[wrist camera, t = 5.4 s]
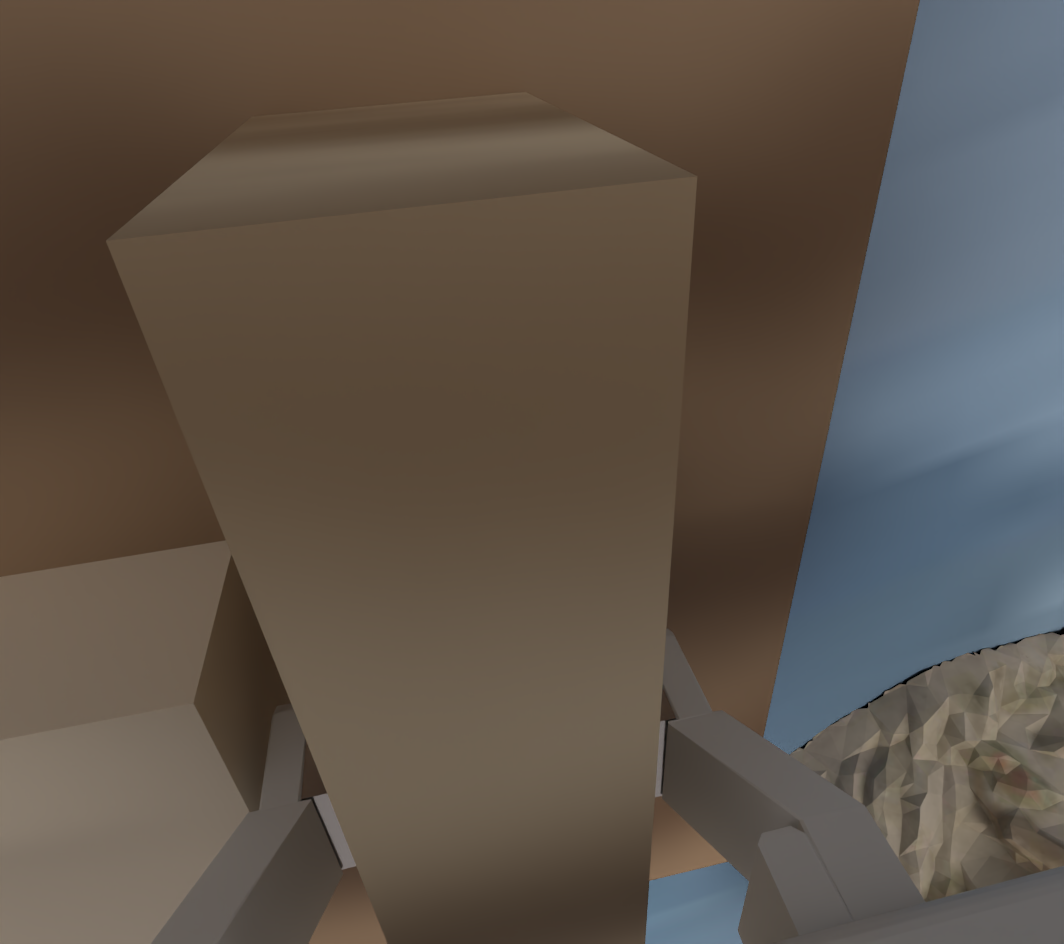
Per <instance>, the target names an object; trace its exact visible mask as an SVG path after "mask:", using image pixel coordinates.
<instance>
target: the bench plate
mask: <svg viewBox="0 0 1064 944" xmlns="http://www.w3.org/2000/svg"><path fill="white" fill-rule="evenodd" d="M919 2H920V0H0V577H3V576H9V575H15V574H22V573H28V572H34V571H40V570H46V569H52V568H59V567H65V566H71V565H77V564H83V563H89V562H96V561H102V560H108V559H114V558H120V557H126V556H133V555H139V554H145V553H151V552H157V551H163V550H169V549H176V548H182V547H188V546H194V545H200V544H206V543H213V542H219V541H225V537H224V535H223V532H222V530H221V527H220V525H219V522H218V520H217V517H216V515H215V512H214V510H213V507H212V505H211V502H210V500H209V497H208V495H207V492H206V490H205V487H204V485H203V482H202V480H201V477H200V475H199V472H198V470H197V467H196V465H195V462H194V460H193V457H192V455H191V452H190V450H189V447H188V445H187V442H186V440H185V437H184V435H183V432H182V430H181V427H180V425H179V422H178V420H177V417H176V415H175V412H174V410H173V407H172V405H171V402H170V400H169V397H168V395H167V392H166V390H165V387H164V385H163V382H162V380H161V377H160V375H159V372H158V370H157V367H156V365H155V362H154V360H153V357H152V355H151V352H150V350H149V347H148V345H147V342H146V340H145V337H144V335H143V332H142V330H141V327H140V325H139V322H138V320H137V317H136V315H135V312H134V310H133V307H132V305H131V302H130V300H129V297H128V295H127V292H126V290H125V287H124V285H123V283H122V280H121V278H120V275H119V273H118V270H117V268H116V265H115V263H114V260H113V258H112V255H111V253H110V250H109V248H108V245H107V243H106V240H107V239H108V238H110V237H111V236H112V235H113V234H114V233H116V232H117V231H118V230H119V229H120V228H121V227H123V226H124V225H125V224H126V223H127V222H128V221H130V220H131V219H132V218H133V217H134V216H136V215H137V214H138V213H139V212H140V211H141V210H143V209H144V208H145V207H146V206H147V205H148V204H150V203H151V202H152V201H153V200H154V199H155V198H157V197H158V196H159V195H160V194H161V193H163V192H164V191H165V190H166V189H167V188H168V187H170V186H171V185H172V184H173V183H174V182H175V181H177V180H178V179H179V178H180V177H181V176H183V175H184V174H185V173H186V172H187V171H188V170H190V169H191V168H192V167H193V166H194V165H195V164H197V163H198V162H199V161H200V160H201V159H202V158H204V157H205V156H206V155H207V154H208V153H210V152H211V151H212V150H213V149H214V148H215V147H217V146H218V145H219V144H220V143H221V142H222V141H224V140H225V139H226V138H227V137H228V136H230V135H231V134H232V133H233V132H234V131H235V130H237V129H238V128H239V127H240V126H241V125H242V124H244V123H245V122H246V121H247V120H248V119H249V118H251V117H253V116H264V115H275V114H286V113H297V112H308V111H319V110H331V109H342V108H353V107H364V106H375V105H386V104H397V103H408V102H419V101H430V100H442V99H453V98H464V97H475V96H486V95H497V94H508V93H519V92H527V93H529V94H531V95H533V96H535V97H537V98H539V99H541V100H543V101H545V102H547V103H549V104H551V105H553V106H555V107H557V108H559V109H561V110H563V111H566V112H568V113H570V114H572V115H574V116H576V117H578V118H580V119H582V120H584V121H586V122H588V123H590V124H592V125H594V126H596V127H598V128H600V129H602V130H604V131H606V132H608V133H610V134H612V135H614V136H616V137H618V138H620V139H623V140H625V141H627V142H629V143H631V144H633V145H635V146H637V147H639V148H641V149H643V150H645V151H647V152H649V153H651V154H653V155H655V156H657V157H659V158H661V159H663V160H665V161H667V162H669V163H671V164H673V165H675V166H677V167H680V168H682V169H684V170H686V171H688V172H690V173H692V174H694V175H696V176H697V188H696V203H695V218H694V232H693V247H692V262H691V276H690V291H689V305H688V320H687V335H686V349H685V364H684V379H683V393H682V408H681V423H680V437H679V452H678V466H677V481H676V496H675V510H674V525H673V540H672V554H671V569H670V584H669V598H668V613H667V627H666V629H669V630H670V631H671V632H673V634H674V636H675V638H676V640H677V642H678V644H679V646H680V648H681V650H682V652H683V654H684V656H685V658H686V660H687V662H688V663H689V665H690V667H691V669H692V671H693V673H694V675H695V677H696V679H697V681H698V683H699V685H700V687H701V689H702V691H703V693H704V695H705V697H706V699H707V701H708V703H709V705H710V707H711V709H712V711H719V710H723V711H724V712H726V713H727V714H729V715H730V716H732V717H733V718H735V719H736V720H738V721H739V722H741V723H742V724H744V725H745V726H747V727H748V728H750V729H751V730H753V731H754V732H756V733H757V734H759V735H760V736H762V737H763V735H764V731H765V726H766V721H767V717H768V712H769V707H770V703H771V698H772V693H773V688H774V684H775V679H776V674H777V670H778V665H779V660H780V655H781V651H782V646H783V641H784V637H785V632H786V627H787V623H788V618H789V613H790V608H791V604H792V599H793V594H794V590H795V585H796V580H797V575H798V571H799V566H800V561H801V557H802V552H803V547H804V543H805V538H806V533H807V528H808V524H809V519H810V514H811V510H812V505H813V500H814V496H815V491H816V486H817V481H818V477H819V472H820V467H821V463H822V458H823V453H824V448H825V444H826V439H827V434H828V430H829V425H830V420H831V416H832V411H833V406H834V401H835V397H836V392H837V387H838V383H839V378H840V373H841V368H842V364H843V359H844V354H845V350H846V345H847V340H848V336H849V331H850V326H851V321H852V317H853V312H854V307H855V303H856V298H857V293H858V289H859V284H860V279H861V274H862V270H863V265H864V260H865V256H866V251H867V246H868V241H869V237H870V232H871V227H872V223H873V218H874V213H875V209H876V204H877V199H878V194H879V190H880V185H881V180H882V176H883V171H884V166H885V161H886V157H887V152H888V147H889V143H890V138H891V133H892V129H893V124H894V119H895V114H896V110H897V105H898V100H899V96H900V91H901V86H902V82H903V77H904V72H905V67H906V63H907V58H908V53H909V49H910V44H911V39H912V34H913V30H914V25H915V20H916V16H917V11H918V6H919ZM724 862H728V861H727V860H726V859H725V858H724V857H723V856H722V855H721V854H720V853H719V852H718V851H717V850H716V849H714V848H713V847H712V846H711V845H710V844H709V843H708V842H707V841H706V840H705V839H704V838H703V837H702V836H701V835H700V834H699V833H698V832H697V831H695V830H694V829H693V828H692V827H691V826H690V825H689V824H688V823H687V822H686V821H685V820H684V819H683V818H682V817H681V816H680V815H679V814H678V813H677V812H675V811H674V810H673V809H672V808H671V807H670V806H669V805H668V804H667V803H666V802H665V801H664V800H663V799H662V796H659V797H655V803H654V818H653V832H652V847H651V862H650V876H649V881H650V880H654V879H658V878H662V877H666V876H670V875H675V874H679V873H683V872H687V871H691V870H695V869H699V868H703V867H708V866H712V865H716V864H720V863H724ZM342 872H343V875H342V877H341V879H340V881H339V883H338V885H337V887H336V889H335V891H334V893H333V895H332V897H331V899H330V901H329V903H328V905H327V907H326V909H325V911H324V913H323V915H322V917H321V919H320V921H319V923H318V925H317V927H316V929H315V931H314V933H313V935H312V937H311V939H310V941H309V943H308V944H387V941H386V939H385V936H384V934H383V931H382V929H381V926H380V924H379V921H378V919H377V916H376V914H375V911H374V909H373V906H372V904H371V901H370V899H369V896H368V894H367V891H366V889H365V886H364V884H363V881H362V879H361V876H360V874H359V871H358V869H357V866H354V867H351V868H347V869H343V870H342Z"/></svg>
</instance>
